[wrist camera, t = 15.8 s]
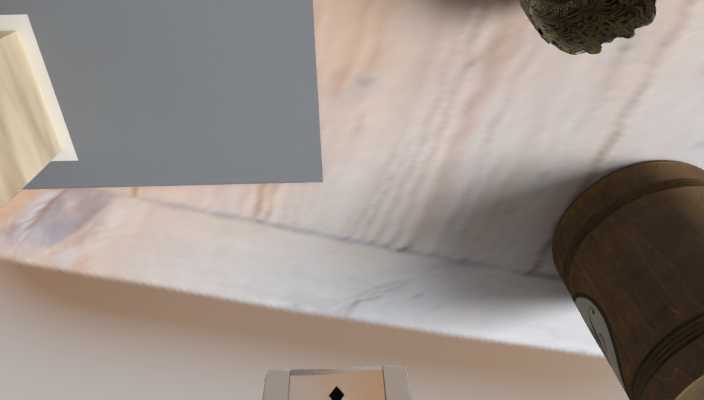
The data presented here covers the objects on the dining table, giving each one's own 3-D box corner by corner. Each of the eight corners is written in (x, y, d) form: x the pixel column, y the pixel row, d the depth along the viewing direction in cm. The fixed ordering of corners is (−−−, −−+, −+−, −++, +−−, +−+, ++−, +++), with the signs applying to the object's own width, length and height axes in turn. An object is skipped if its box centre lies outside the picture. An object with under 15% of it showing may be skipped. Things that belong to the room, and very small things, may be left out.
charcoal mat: (310, -34, 33) (310, -33, 32) (322, 180, 41) (322, 182, 41) (-188, -23, 32) (-192, -22, 32) (-71, 189, 41) (-74, 191, 41)
